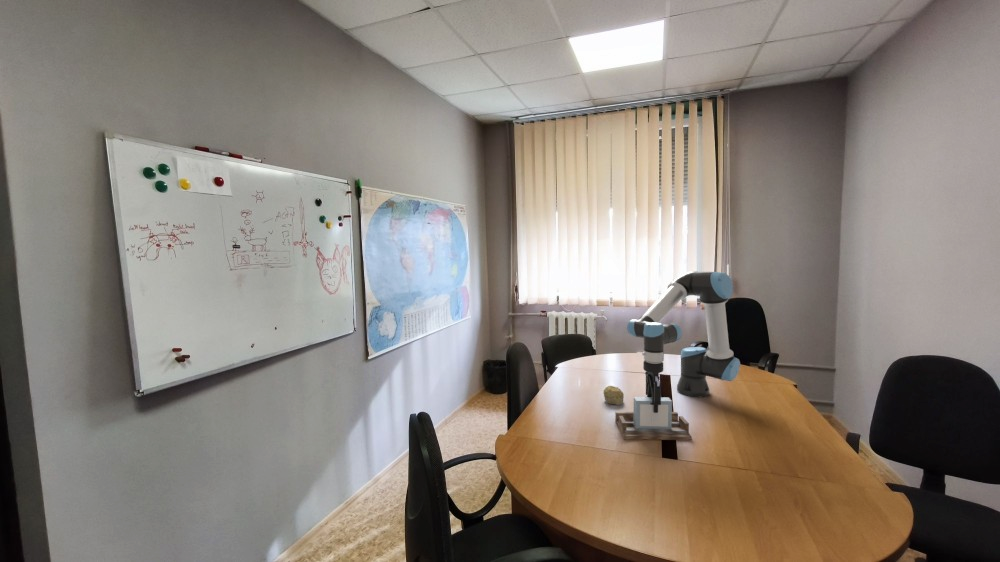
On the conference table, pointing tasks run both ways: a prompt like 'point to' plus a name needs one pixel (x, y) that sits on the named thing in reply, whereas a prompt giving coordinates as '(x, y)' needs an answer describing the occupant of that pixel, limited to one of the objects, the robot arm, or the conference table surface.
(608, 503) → the conference table surface
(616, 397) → the decorative item
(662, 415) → the door panel
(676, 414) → the base
